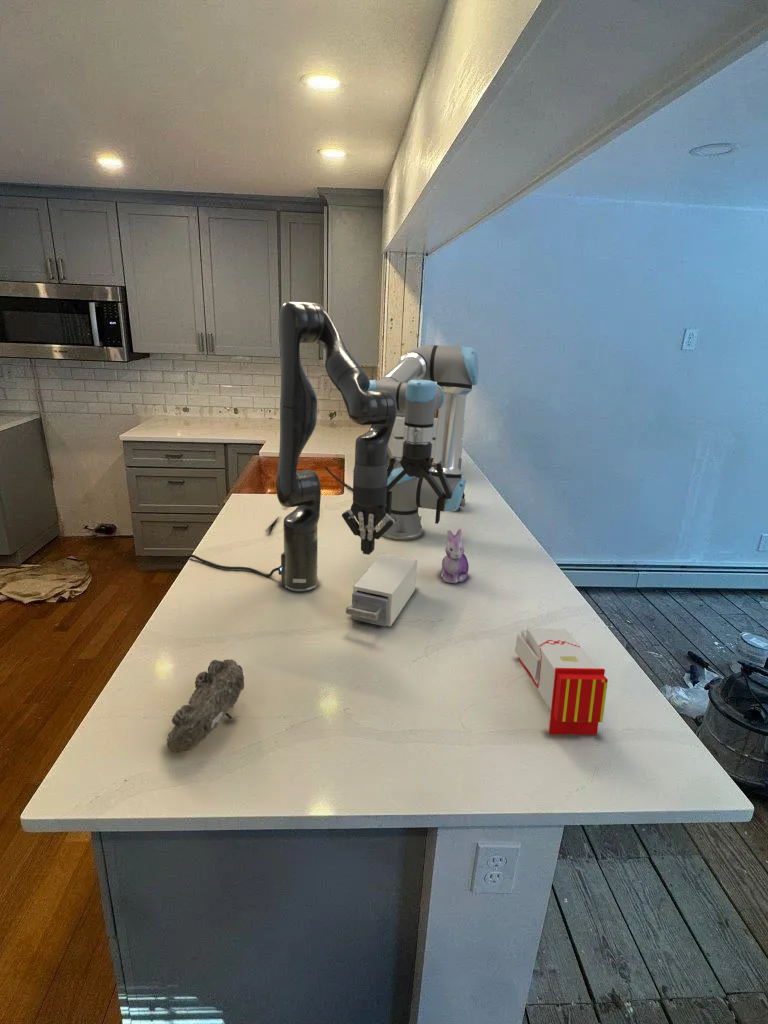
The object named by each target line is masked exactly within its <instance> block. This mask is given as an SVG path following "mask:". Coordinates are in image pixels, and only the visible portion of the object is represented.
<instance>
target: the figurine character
mask: <svg viewBox="0 0 768 1024" xmlns="http://www.w3.org/2000/svg"><path fill="white" fill-rule="evenodd" d="M465 496H466V494H465V492H464V493H463V497H462V500H461V503H460V505H459V508H458V509H457V510H458V511H461V510H462V509H461V508H465V505H466V497H465Z"/></svg>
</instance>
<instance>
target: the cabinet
mask: <svg viewBox="0 0 768 1024" xmlns="http://www.w3.org/2000/svg"><path fill="white" fill-rule="evenodd" d="M417 571H418V559H415V558H410V557H405V556H398V555H393V554H388V553H382V554H381V555H380V556H379V557H378V558H377V559H376V560H375V562H374V563H373V564H372V565H371V566H370V567H368V569H367V570H366V571H365V572H364V573H363V575H362V576H361V577H360V578H359V579H358V580H357V581H356V582H355V584H354V585H353V587H352V593H353V592H357V593H360V591H362V592H367V593H372V594H376V595H381V596H386V597H388V616H387V625H386V627H392V625H393V623H395V621H396V619H397V617H398V616H399V615H400V613H401V612H402V610H403V608H404V607H405V605H406V604H407V603H408V602H409V600H410V598H411V596H412V595H413V593H414V592H415V590H416V587H417V586H416V585H417Z"/></svg>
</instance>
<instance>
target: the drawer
mask: <svg viewBox="0 0 768 1024" xmlns="http://www.w3.org/2000/svg"><path fill="white" fill-rule="evenodd" d="M345 614H346V615H349V616H351V620H354V621H358V622H363V623H367V624H372V625H377V626H381V627H387V626H386V625H387V616H388V597H386V596H381V595H376V594H372V593H367V592H362V591H360V593H357V592H353V591H352V594H351V605H350V606H347V607H346V608H345Z"/></svg>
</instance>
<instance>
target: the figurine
mask: <svg viewBox="0 0 768 1024" xmlns="http://www.w3.org/2000/svg"><path fill="white" fill-rule="evenodd" d="M446 534H447V543H446V546H445V548H444V549H445V554H446V555H444V557H443V558H442V560H441V569H440V577H441V578H442V580H443V582H445V583H451V584H457V583H461V582H463V581H465V580H466V579H467V577H468V574H469V569H470V568H469V567H470V566H469V565H470V564H469V561H468V558H467V556H466V555H465V554H464V553H465V547H464V545H463V542H462V535H463V529H462V528H459V529H458V530H457V531H456V533H455V535H454V534H453V532H452V530H451V529H448V530H447V532H446Z"/></svg>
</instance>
